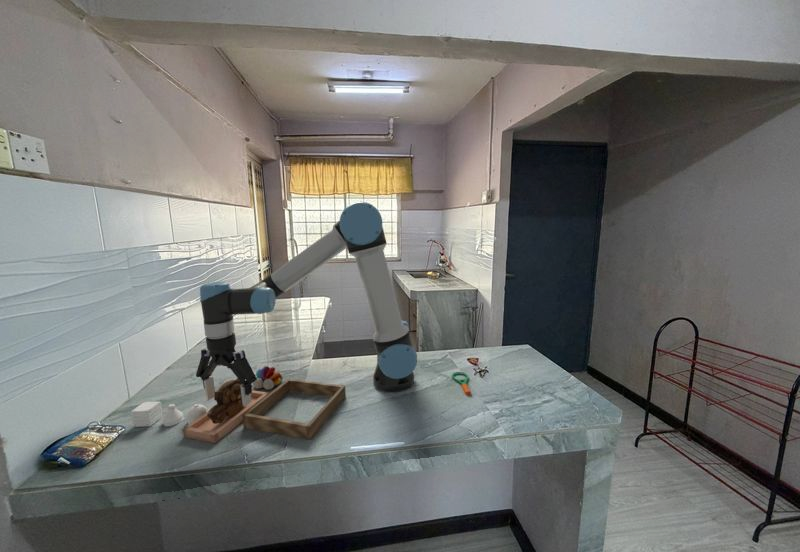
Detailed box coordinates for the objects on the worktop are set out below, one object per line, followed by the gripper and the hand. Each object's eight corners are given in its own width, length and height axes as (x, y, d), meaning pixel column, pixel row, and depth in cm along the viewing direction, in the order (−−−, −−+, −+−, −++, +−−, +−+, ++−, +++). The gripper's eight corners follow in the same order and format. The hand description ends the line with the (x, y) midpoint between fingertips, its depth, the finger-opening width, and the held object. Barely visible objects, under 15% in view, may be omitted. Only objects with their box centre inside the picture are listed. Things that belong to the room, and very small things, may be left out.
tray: (269, 399, 105) (268, 392, 104) (215, 443, 84) (214, 435, 84) (242, 395, 108) (242, 388, 107) (183, 437, 87) (182, 428, 87)
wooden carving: (222, 431, 88) (218, 398, 86) (207, 430, 88) (203, 397, 87) (256, 398, 104) (253, 370, 102) (244, 398, 104) (240, 370, 103)
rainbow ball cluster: (273, 392, 110) (271, 373, 109) (249, 390, 112) (247, 371, 110) (286, 380, 118) (285, 362, 117) (264, 378, 120) (262, 361, 119)
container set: (133, 428, 92) (130, 411, 91) (147, 417, 97) (144, 401, 96) (201, 425, 92) (199, 409, 91) (212, 415, 97) (209, 399, 96)
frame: (345, 396, 105) (345, 385, 105) (310, 439, 84) (309, 426, 84) (289, 389, 111) (288, 378, 111) (243, 427, 90) (242, 415, 90)
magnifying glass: (450, 375, 120) (450, 371, 119) (465, 374, 120) (465, 370, 119) (459, 396, 105) (459, 392, 104) (477, 395, 105) (477, 391, 105)
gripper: (264, 333, 92) (271, 399, 95) (198, 327, 99) (207, 389, 102) (246, 342, 85) (254, 413, 88) (175, 335, 91) (185, 402, 95)
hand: (228, 401), depth 95 cm, fingers open, 13 cm apart
